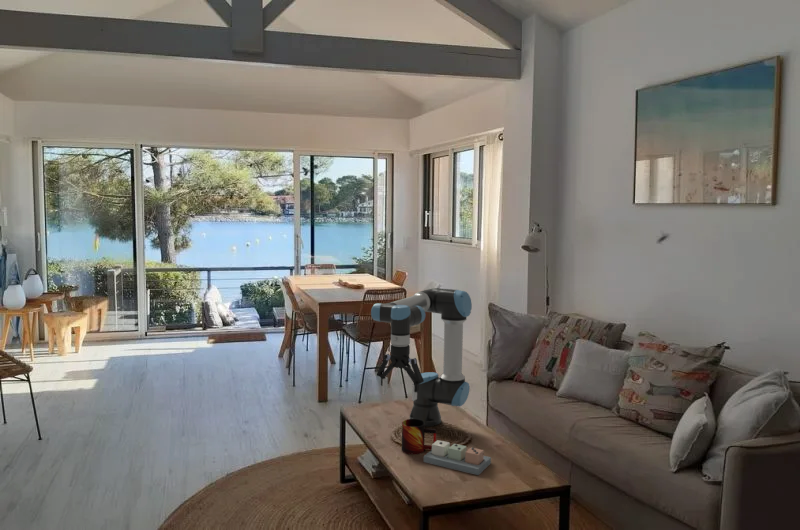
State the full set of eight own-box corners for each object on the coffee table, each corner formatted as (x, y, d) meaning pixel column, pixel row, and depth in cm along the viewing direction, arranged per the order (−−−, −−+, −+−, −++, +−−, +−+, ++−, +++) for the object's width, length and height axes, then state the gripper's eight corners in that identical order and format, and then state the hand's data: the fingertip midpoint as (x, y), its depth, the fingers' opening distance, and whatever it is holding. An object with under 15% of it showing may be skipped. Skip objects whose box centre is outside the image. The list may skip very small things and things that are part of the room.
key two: (453, 453, 266) (454, 442, 265) (466, 456, 263) (466, 445, 262) (448, 458, 261) (448, 447, 260) (460, 461, 258) (460, 450, 258)
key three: (470, 457, 262) (471, 446, 262) (483, 460, 259) (483, 449, 259) (465, 462, 257) (465, 451, 257) (478, 465, 255) (478, 454, 254)
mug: (436, 452, 272) (437, 425, 271) (404, 455, 269) (405, 427, 267) (429, 443, 281) (430, 417, 280) (399, 446, 278) (399, 419, 277)
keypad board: (437, 450, 274) (437, 445, 273) (490, 463, 262) (490, 457, 262) (423, 461, 262) (423, 456, 262) (478, 475, 251) (478, 469, 250)
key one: (437, 449, 269) (437, 439, 269) (449, 452, 267) (449, 441, 266) (431, 454, 265) (431, 443, 264) (443, 457, 262) (443, 446, 261)
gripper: (368, 342, 257) (368, 394, 260) (423, 350, 245) (422, 404, 247) (378, 338, 264) (378, 389, 266) (432, 346, 251) (431, 399, 254)
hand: (399, 396), depth 257 cm, fingers open, 13 cm apart
